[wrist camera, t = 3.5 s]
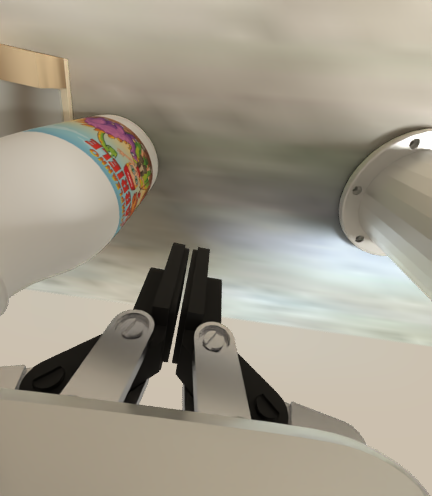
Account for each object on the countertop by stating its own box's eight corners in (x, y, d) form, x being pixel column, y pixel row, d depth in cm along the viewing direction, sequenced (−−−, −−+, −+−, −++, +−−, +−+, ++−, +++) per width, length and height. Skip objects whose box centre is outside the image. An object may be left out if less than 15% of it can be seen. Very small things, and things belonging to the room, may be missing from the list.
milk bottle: (111, 209, 27) (-85, 414, 10) (59, 137, 23) (-394, 266, 6) (174, 179, 25) (67, 371, 8) (129, 96, 21) (-243, 122, 4)
